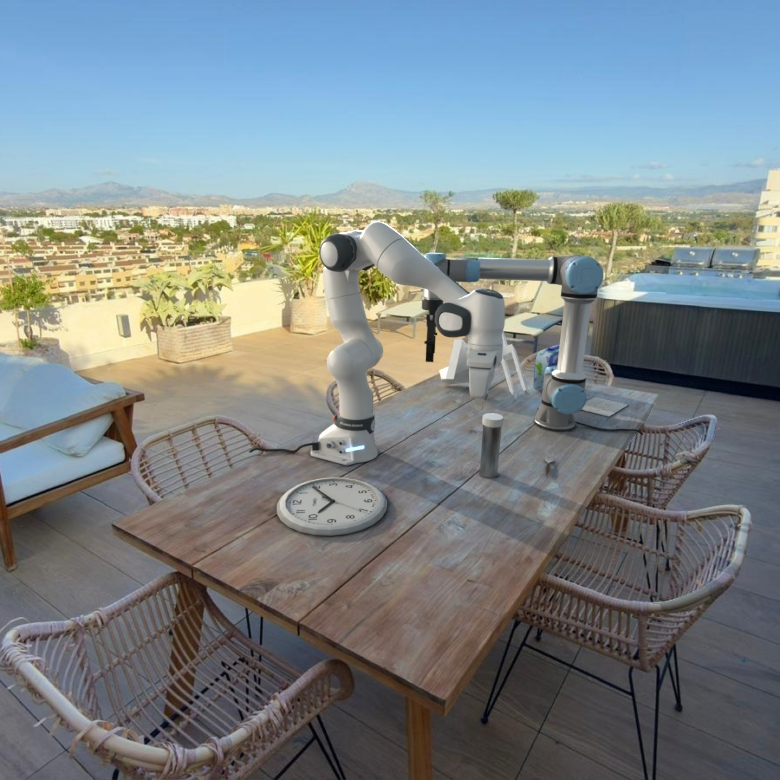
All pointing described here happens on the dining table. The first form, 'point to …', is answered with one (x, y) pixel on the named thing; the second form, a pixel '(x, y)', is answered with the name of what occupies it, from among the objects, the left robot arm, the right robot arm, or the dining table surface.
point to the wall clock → (331, 506)
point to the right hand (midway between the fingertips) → (430, 357)
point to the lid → (492, 420)
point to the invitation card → (603, 406)
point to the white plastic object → (460, 370)
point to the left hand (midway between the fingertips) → (481, 404)
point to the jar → (490, 451)
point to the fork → (548, 462)
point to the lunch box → (544, 364)
